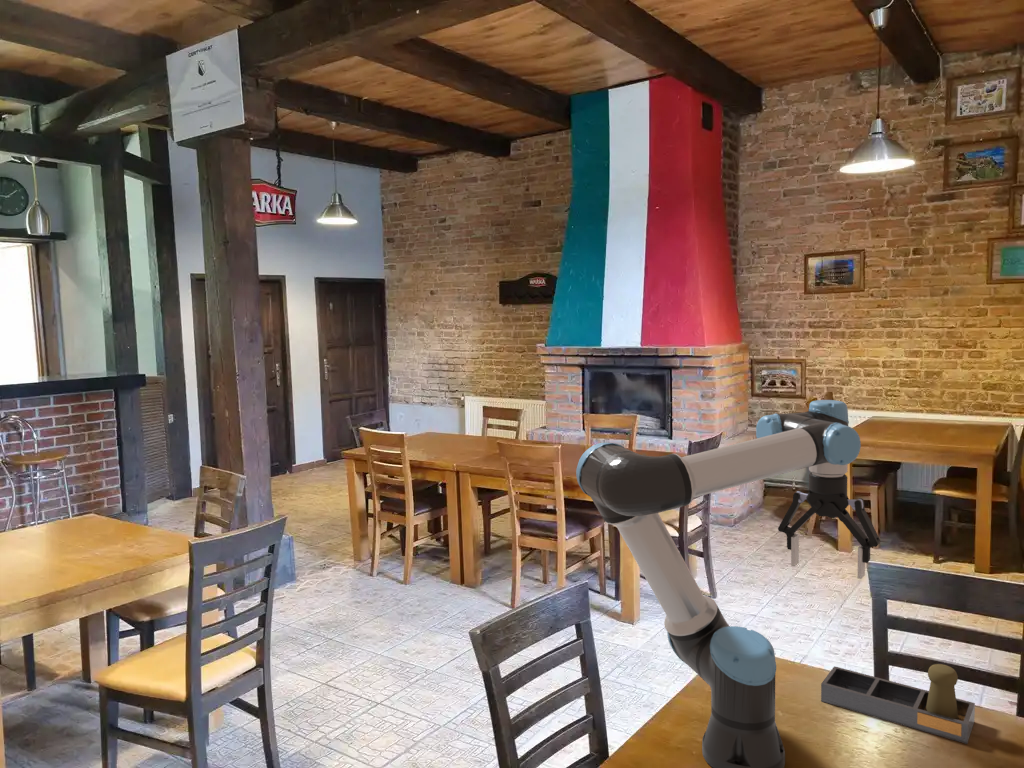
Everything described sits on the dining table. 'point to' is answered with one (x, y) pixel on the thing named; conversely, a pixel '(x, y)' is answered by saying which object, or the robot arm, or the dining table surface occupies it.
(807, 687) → the dining table surface
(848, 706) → the rack
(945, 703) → the olive pawn-shaped piece
